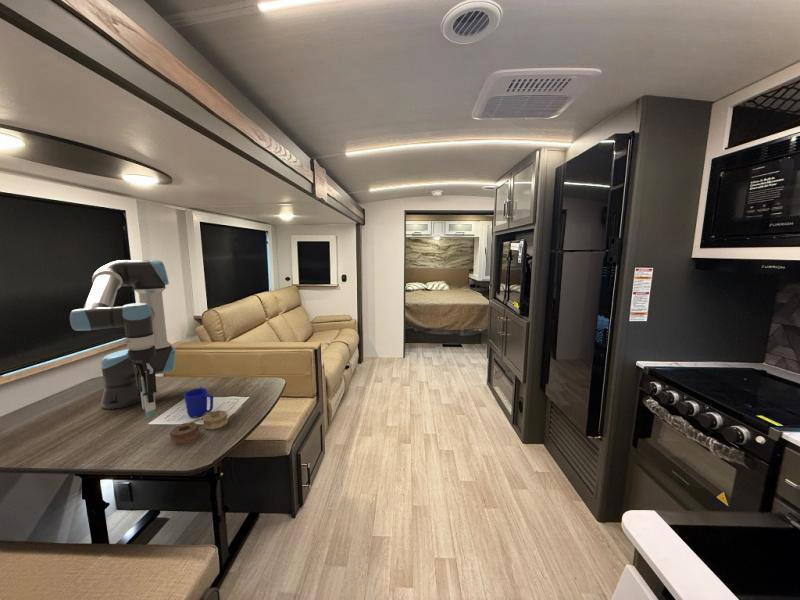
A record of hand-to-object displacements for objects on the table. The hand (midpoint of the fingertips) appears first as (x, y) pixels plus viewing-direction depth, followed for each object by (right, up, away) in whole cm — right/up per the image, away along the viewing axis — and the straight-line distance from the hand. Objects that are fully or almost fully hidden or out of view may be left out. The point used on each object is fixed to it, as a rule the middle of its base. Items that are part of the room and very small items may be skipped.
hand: (149, 408), depth 113 cm
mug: (+7, -9, +18) cm, 22 cm away
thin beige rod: (+8, -10, +13) cm, 18 cm away
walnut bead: (+12, -11, +2) cm, 16 cm away
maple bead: (+17, -10, +11) cm, 23 cm away
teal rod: (0, -3, 0) cm, 3 cm away
